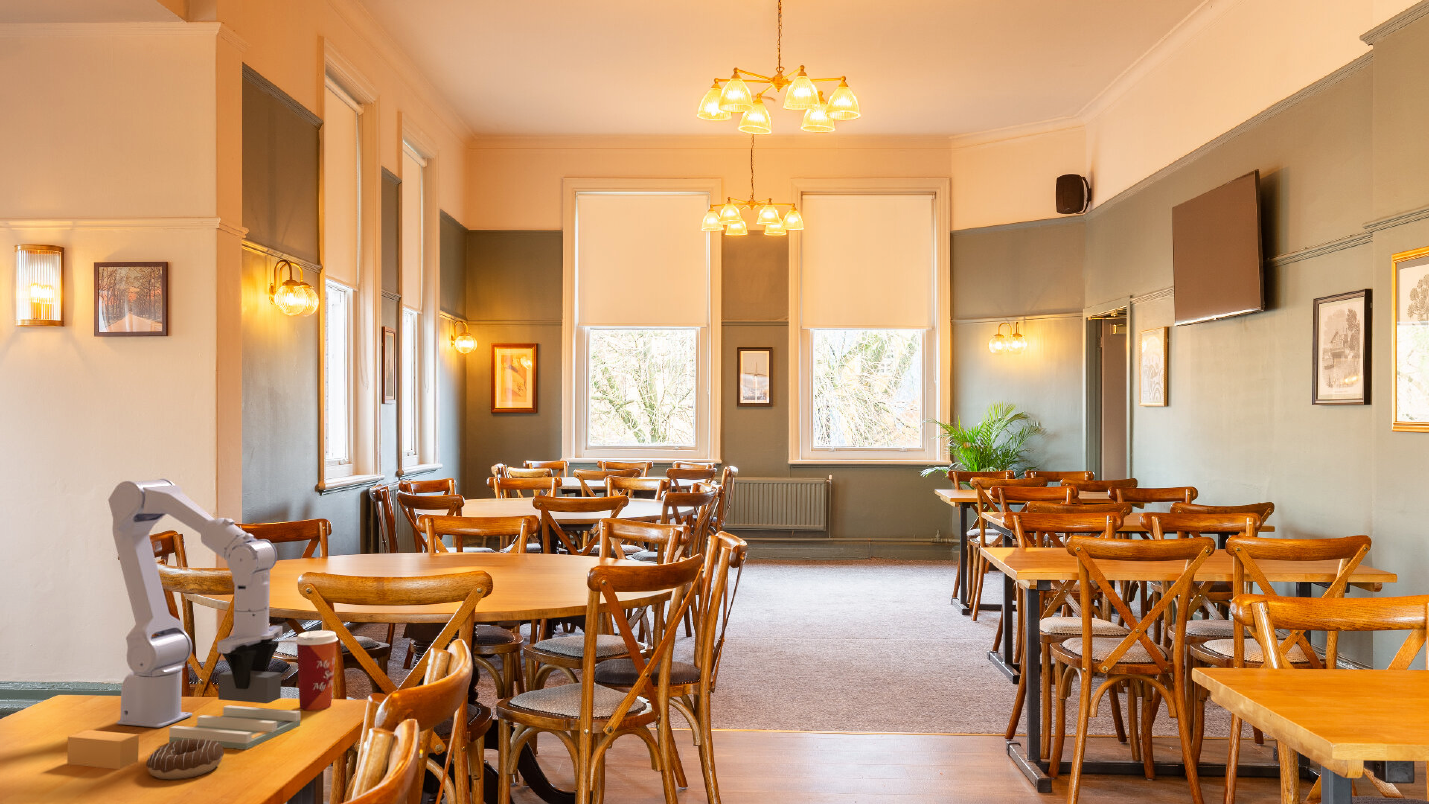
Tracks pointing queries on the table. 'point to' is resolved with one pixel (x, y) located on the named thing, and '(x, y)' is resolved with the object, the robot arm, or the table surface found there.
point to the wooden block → (103, 749)
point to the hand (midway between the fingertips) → (250, 685)
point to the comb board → (239, 726)
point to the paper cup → (316, 669)
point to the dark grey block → (251, 687)
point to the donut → (185, 758)
